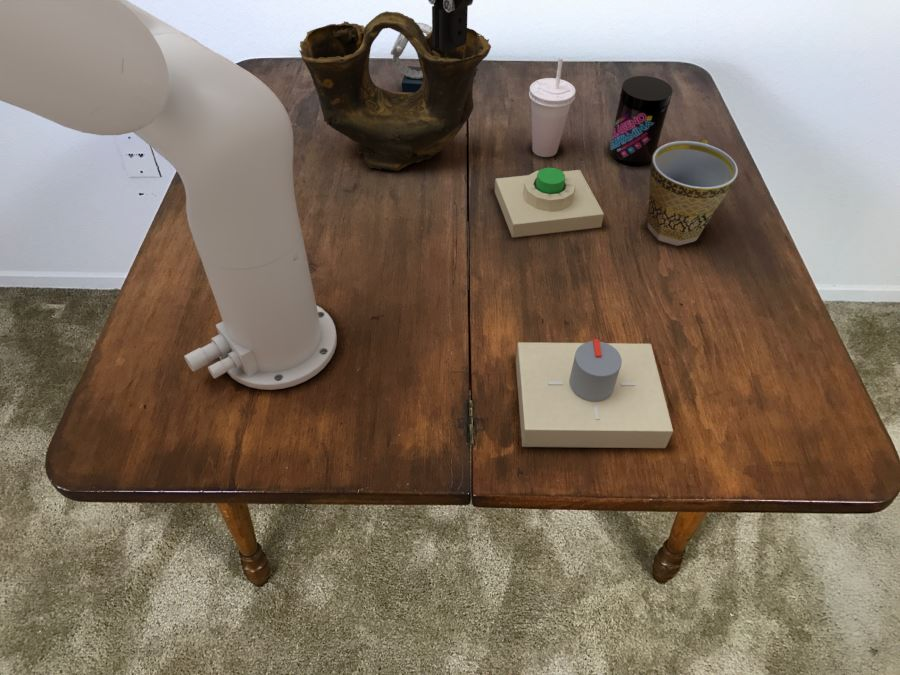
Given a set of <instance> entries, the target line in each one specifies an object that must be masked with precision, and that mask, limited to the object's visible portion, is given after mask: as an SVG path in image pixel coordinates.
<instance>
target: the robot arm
mask: <svg viewBox="0 0 900 675" xmlns="http://www.w3.org/2000/svg"><path fill="white" fill-rule="evenodd" d="M427 1H428V2H429V4H430V5H432V6H431V27H432V45H433V46H434V47H436V48H439V49H440V50H441V51H443V52H447V51H449V50H452V49H455V48H457V47H460V46H462V45H465V43H466V41H467V28H468V12H469V11H468V10H469V9H468V8H469V6H472V5H473V2H474V0H427ZM0 101H1V102H4V103H6V104H9V105H11V106H13V107H17V108H19V109H21V110H24V111H26V112H29V113H32V114H34V115H37V116H39V117H41V118H44V119H45V120H48V121H50V122H53V123H55V124H57V125H60V126H62V127H64V128H67V129H71V130H74V131H77V132H80V133H84V134H90V135H96V136H122V135H127V134H132V133H133V134H134V135H136V136H137V137H139V139H141V140H142V141H143V142H145V144H147V145H148V146H149V147H151V148H152V149H153V150H154V151H155V152H156V153H157V154H159V156H161V157H162V158H163V159H164V160H166V162H168V163H169V164H170V165H171V166H172V167H173V168H174V170H175V171H176V172H177V174H178V175H179V177H180V180H181V182H182V184H183V186H184V191H185V201H186V202H185V213H186V218H187V223H188V226H189V230H190V233H191V237H192V240H193V242H194V245H195V248H196V250H197V252H198V255H199V258H200V261H201V264H202V266H203V270H204V272H205V275H206V278H207V281H208V283H209V286H210V289H211V292H212V294H213V297H214V300H215V302H216V306H217V310H218V311H219V315H220V318H221V321H220V322H218V323H216V324H215V327H216V330H217V333H218V334H217V335H215V336H213V337H211V339H210V341H211V342H210V343H208V344H205V345H204V346H202V347H197V348H196V349H194V350H192V351H190V352H189V353H186V354H184V355H183V358H184V360H185V362H186V364H187V366H188V367H189V368H190V370H191V371H192V372H193V373H195V372H197V371H198V370H200V369H202V368H204V367H206V366H207V365H209V364H210V363H211V362H213V361H215V360H217V359H218V358H219V360H218V361H216V362H214V363H213V364H211V365H209V366H207V369H208V372H209V373H210V375H211V376H212V378H213V379H217V378H219V377H220V376H222V375H224V374H226V373H227V374H228V375H229V377H230V378H232V379H233V380H234V381H236V382H237V383H239V384H240V385H244V386H245V387H248V388H252V389H257V390H268V391H269V390H270V391H273V390H282V389H286V388H291V387H295V386H298V385H300V384H302V383H305V382H307V381H308V380H310V379H312V378H314V377H316V375H318V374H319V373H320V372H321V371H322V370H323V369H325V367H326V366H327V365H328V364H329V363H330V361H331V359H332V358H333V356H334V354H335V351H336V348H337V344H338V335H337V329H336V324H335V322H334V320H333V318H332V317H331V316H330V314H329V313H328V312H327V311H325V310H324V309H323V307H321V306H319V305H317V301H316V296H315V290H314V287H313V286H314V285H313V282H312V277H311V271H310V266H309V261H308V256H307V250H306V247H305V246H306V245H305V240H304V235H303V230H302V226H301V222H300V218H299V213H298V206H297V202H296V194H295V186H294V148H295V147H294V145H295V143H294V131H293V126H292V122H291V119H290V117H289V114H288V111H287V110H286V107H285V105H284V104H283V103H282V102H281V100H280V99H279V97H278V96H277V95H276V94H275V93H274V91H272V89H271V88H270V87H269V86H268V85H266V84H265V82H263V81H262V79H261V80H260V79H259V78H258V77H257V76H255V75H254V74H252V73H251V72H250V71H248V70H246V69H245V68H243V67H242V66H240V65H238V64H237V63H235V62H234V61H232V60H230V59H228V58H227V57H225V56H224V55H222V54H220V53H218V52H216V51H214V50H212V49H210V48H209V47H208V46H206V45H204V44H202V43H201V42H199V41H198V40H197V39H195V38H193V37H191V36H190V35H188V34H186V33H184V32H183V31H181V30H180V29H178V28H176V27H174V26H172V25H171V24H168V23H167V22H166V21H164V20H162V19H160V18H158V17H156V15H153V14H151V13H149V12H148V11H146V10H145V9H142V8H141V7H139V6H137V5H136V4H134V3H132V2H131V1H129V0H0Z"/></svg>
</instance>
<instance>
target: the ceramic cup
mask: <svg viewBox="0 0 900 675" xmlns="http://www.w3.org/2000/svg"><path fill="white" fill-rule="evenodd" d="M708 142H709V141H708V140H707V139H704V138H701V139H699V140H698V141H694V140H693V141H692V140H677V141H671V142H666V143H665V144H662V145H661V146H658V147H657V149H656V151H655V152H654V153H653V156H652V160H651V161H650V170H649V198H648V213H647V226H646V227H647V230H649V231H650V232H651V234H652V235H653V236H654V237H655V238H656V239H657V240H658V241H659V242H662V243H666V244H669V245H673V246H676V247H679V246H682V245H686V244H690V243H694V242H696V241H697V240H698V239H699V237H700V236H701V234H702V233H703V231H704V229H705V227H706V226H707V224H708V223H709V221H710V220H711V218H712V216H713V214H714V213H715V211H716V210H717V209H718V207H719V205H721V204H722V202H723V200H724V199H725V197H726V196H727V194H728V193H729V191H730V189H731V187H732V186H733V184H734V182H735V180H736V178H737V177H738V174H739V173H738V172H739V171H738V170H739V169H738V165H737V163H736V161H735V160H734V158H732V157H731V156H730V155H729V154H728V153H727V152H725V151H724V150H722V149H720V148H718V147H716V146H713V145H711V144H708Z"/></svg>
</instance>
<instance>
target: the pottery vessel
mask: <svg viewBox="0 0 900 675" xmlns="http://www.w3.org/2000/svg"><path fill="white" fill-rule="evenodd" d="M417 23H418V22H416V21H415V19H414V18H412V17H410V16H408V15H405V14H404V13H401V12H398V11H387V10H386V11H384V12H380V13H378V14H377V15H375V17H373V18H372V19H371V20H370V21H369V22H368V23H366V25H365V26H364V25H361V24H358V23H352V22H351V23H350V22H349V21H343V22H341V23H337V24H336V23H331V24H326V25H324V26H321V27H317V28H315V29H311V30H309V31H307V32H306V35H305V38H304V39H303V40H302V41H299V48H300V49H298V51H299V53H300V56H301V60H302V61H303V62H304V65H305V66H306V68H307V70H308V72H309V75H310V76H311V79H312V82H313V86H314V89H315V91H316V94H317V95H318V101H319V105H320V109H321V113H322V116H323V121H324V122H325V123H326V125H327V126H329V127H330V128H332V129H333V130H335V131H337V132H338V133H340V134H341V135H344V136H345V137H347V138H349V139H350V140H352V141H353V142H355V143H356V144H358V149H357V153H359V154H361V153H363V154H362V155H363V160H364V162H366V163H365V164H366V165H367V166H368V167H369V168H371V169H378V170H382V169H384V170H390V171H397V172H399V171H400V170H401V169H403V168H406V167H407V166H409V165H411V164H414V163H420V162H424V161H425V160H431V159H432V158H433V156H434V157H435V156H438V155H439V152H441V151H442V150H443V149H444V148H445V147H447V146H448V145H449V144H450V143H451V142H452V141H453V140H454V139H455V137H456V136H457V135H458V133H459V132H460V131H461V130H462V128H463V127H464V125H465V124H466V123H467V121H468V120H469V118H470V117H471V115H472V112H473V110H474V98H473V95H474V94H473V91H474V90H473V89H474V81H475V78H476V77H477V76H476V75H477V70H478V69H477V67H478V66H479V64H481V62H482V61H483V60H484V59H486V57H487V56H488V55H489V53H490V51H491V48H492V45H491V44H490V43H489V41H490V38H489V39H486V38H485V37H484V35H482V34H481V33H479V32H477V31H476V30H474V29H473V28H470V27H467V41H466V43H465V45H462V46H460V47H457V48H455V49H452V50H449V51H447V52H443V51H441V50H440V49H439V48H436V47H434V46H433V45H432V31H431V32H430V33H429V34H426V33H423V32H422V30H421V29H420V26H419V25H418V24H417ZM385 29H391V30H393V31H395V32H398V34H400V33H401V34H402V35H404V37H405V38H406V39H407V40H408V43H410V45H411V46H412V47H413V48H414V50H415V52H416V55H417V59H418V62H419V67H421V70H422V74H423V82H422V86H421V88H420V89H419V90H418V91H417V92H415V93H409V92H402V91H392V90H386V89H383V88H381V87H379V86H377V85H376V84H375V83H374V82H373V80H372V78H371V74H370V56H371V49H372V45H373V43H374V42H375V40H376V39H377V37H378V36H379V35H380V33H381V32H382V31H383V30H385Z"/></svg>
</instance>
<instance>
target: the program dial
mask: <svg viewBox="0 0 900 675" xmlns="http://www.w3.org/2000/svg"><path fill="white" fill-rule="evenodd" d="M583 343H584V344H582V345H581V346H580V347H578V349H577V350H576V353H575V357H574V362H573V366H572V370H571V375H570V380H569V382H570V387H571V389H572V390H573V392H574V393H575V394H576V395H577V396H579V397H580V398H582V399H585V400H588V401H602V400H604V399H606V398H608V397H609V396H610V395H611V394H612V393H613V390H614V387H615V384H616V381H617V377H618V374H619V371H620V368H621V364H622V359H621V356H620V354H619V352H618V351H617V350H616V349H615V348H614V347H613V346H611V345H609V344H607V343H608V342H604V341H600V339H599V338H593V339H592V340H590V341H587V342H583Z"/></svg>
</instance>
